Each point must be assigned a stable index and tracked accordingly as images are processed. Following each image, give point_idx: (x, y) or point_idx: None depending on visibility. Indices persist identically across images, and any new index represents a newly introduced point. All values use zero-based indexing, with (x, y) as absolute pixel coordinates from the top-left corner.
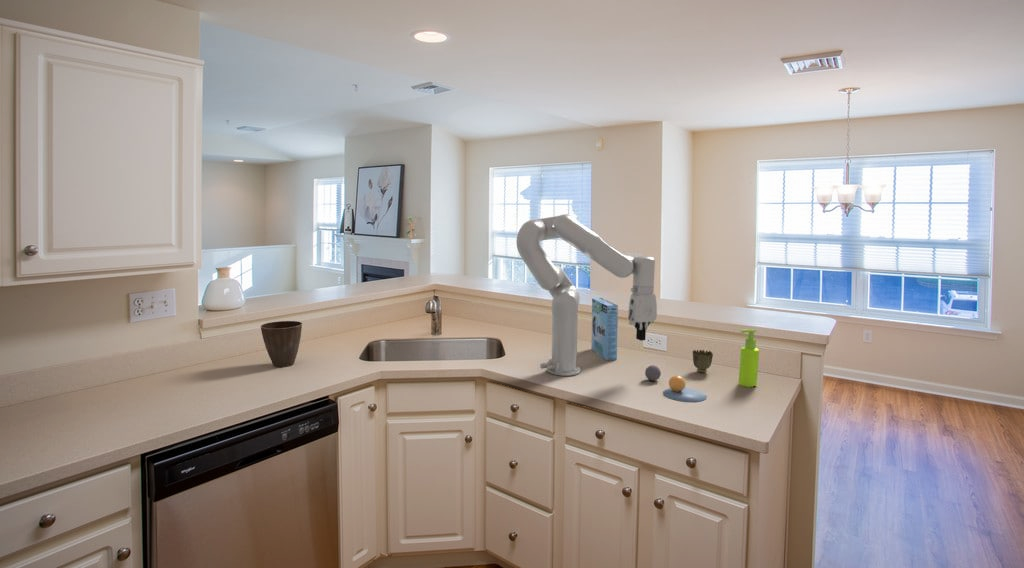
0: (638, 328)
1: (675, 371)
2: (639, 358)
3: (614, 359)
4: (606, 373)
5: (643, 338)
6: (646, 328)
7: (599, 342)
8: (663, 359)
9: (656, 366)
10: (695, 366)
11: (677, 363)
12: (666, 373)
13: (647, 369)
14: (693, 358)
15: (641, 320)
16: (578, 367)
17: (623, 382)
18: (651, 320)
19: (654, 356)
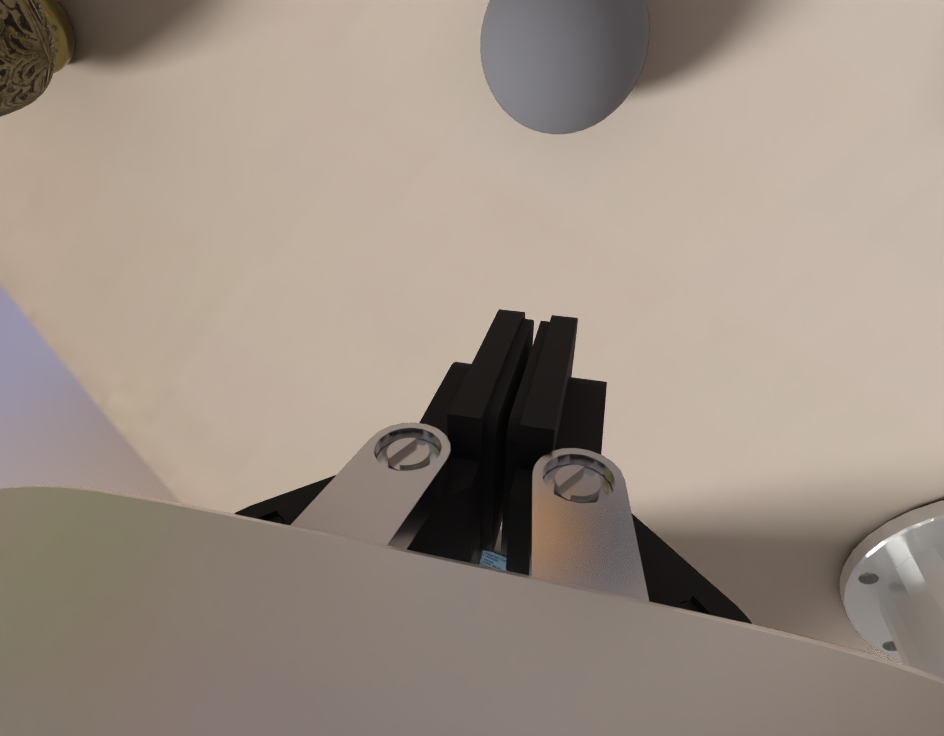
0: (632, 517)
1: (231, 157)
2: (301, 480)
3: None
4: (750, 396)
5: (530, 332)
6: (402, 439)
7: None
8: (176, 395)
9: (522, 20)
10: (53, 48)
11: (130, 293)
12: (325, 152)
13: (629, 63)
14: (3, 72)
15: (770, 696)
16: (874, 558)
17: (871, 136)
18: (169, 511)
19: (198, 457)
